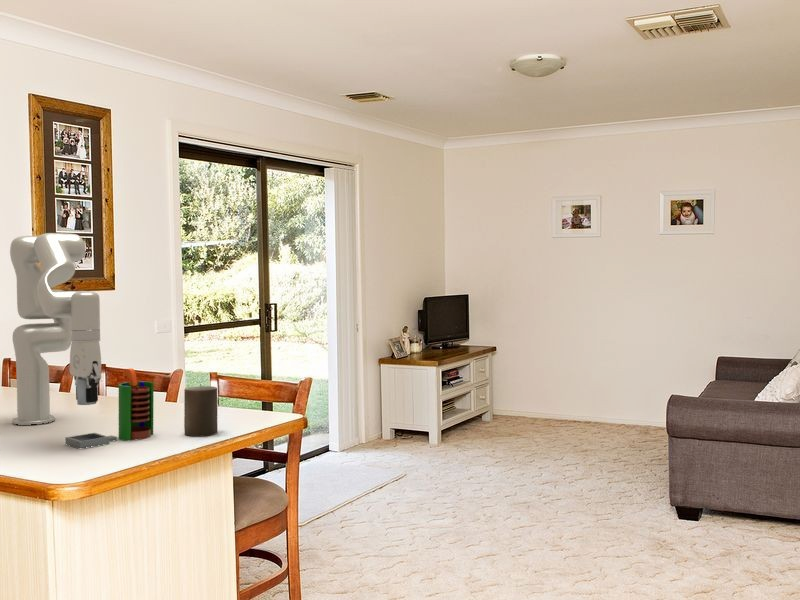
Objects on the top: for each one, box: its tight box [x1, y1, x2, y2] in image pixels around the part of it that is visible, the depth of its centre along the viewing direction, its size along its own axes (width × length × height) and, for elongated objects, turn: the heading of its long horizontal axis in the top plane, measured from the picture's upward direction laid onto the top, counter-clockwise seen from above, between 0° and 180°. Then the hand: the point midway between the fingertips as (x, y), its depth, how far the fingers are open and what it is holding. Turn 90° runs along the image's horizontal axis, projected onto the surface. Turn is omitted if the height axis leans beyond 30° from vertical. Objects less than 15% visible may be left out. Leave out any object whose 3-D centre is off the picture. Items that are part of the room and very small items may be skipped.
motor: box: [118, 368, 155, 441], centre depth 232 cm, size 10×9×20 cm
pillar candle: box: [183, 383, 218, 437], centre depth 238 cm, size 10×10×15 cm
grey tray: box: [64, 432, 118, 449], centre depth 224 cm, size 9×12×2 cm
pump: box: [76, 375, 97, 406], centre depth 222 cm, size 5×5×9 cm
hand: (87, 400), depth 222 cm, fingers closed on pump, 5 cm apart
